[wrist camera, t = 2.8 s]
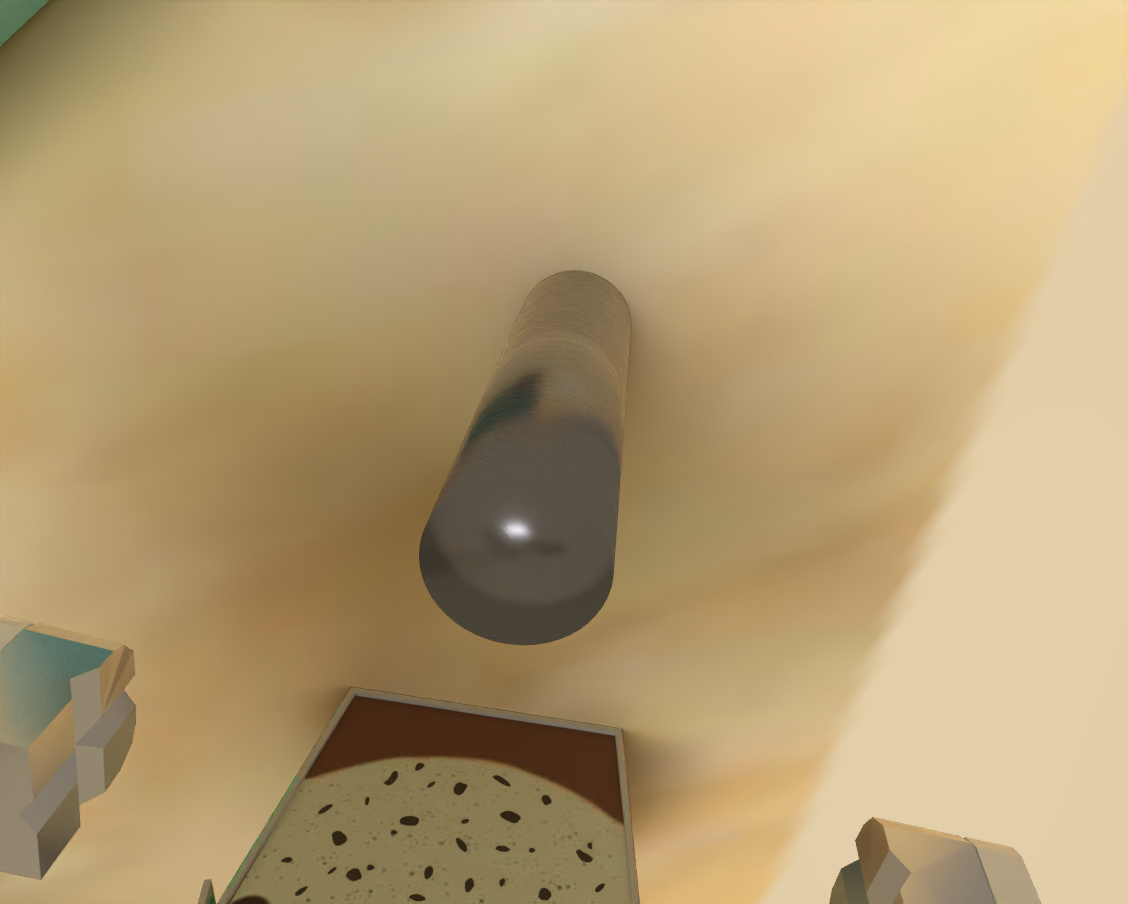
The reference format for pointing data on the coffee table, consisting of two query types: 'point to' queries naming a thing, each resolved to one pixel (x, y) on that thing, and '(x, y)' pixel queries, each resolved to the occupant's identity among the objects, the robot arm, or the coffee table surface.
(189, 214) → the coffee table surface
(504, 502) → the hinge pin
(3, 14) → the teal hinge knuckle plate
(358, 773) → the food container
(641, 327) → the coffee table surface
